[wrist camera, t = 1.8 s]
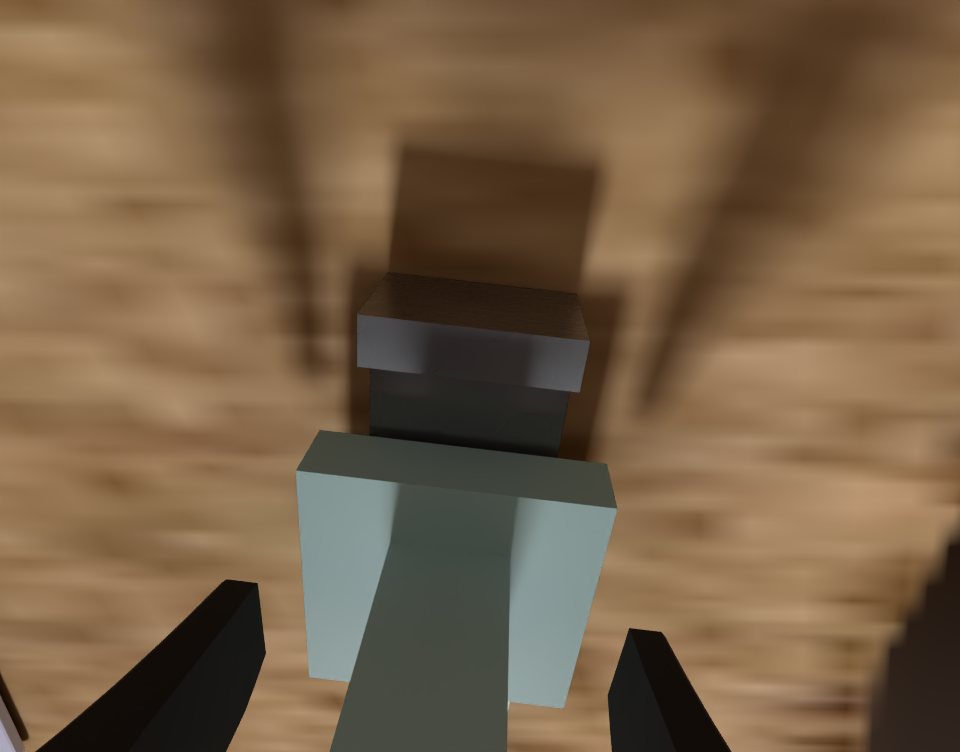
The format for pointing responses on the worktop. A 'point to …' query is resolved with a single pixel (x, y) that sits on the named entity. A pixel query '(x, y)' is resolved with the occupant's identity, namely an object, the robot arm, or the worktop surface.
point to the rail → (471, 363)
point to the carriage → (445, 584)
